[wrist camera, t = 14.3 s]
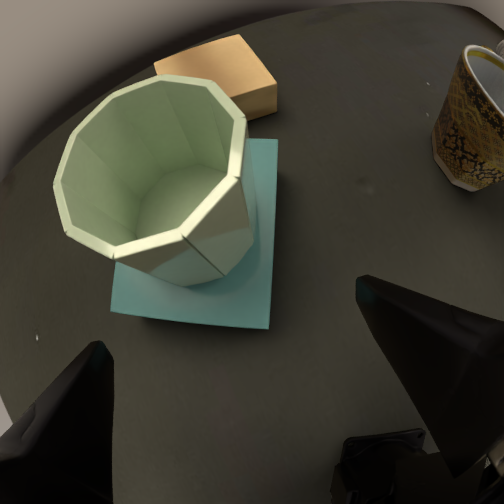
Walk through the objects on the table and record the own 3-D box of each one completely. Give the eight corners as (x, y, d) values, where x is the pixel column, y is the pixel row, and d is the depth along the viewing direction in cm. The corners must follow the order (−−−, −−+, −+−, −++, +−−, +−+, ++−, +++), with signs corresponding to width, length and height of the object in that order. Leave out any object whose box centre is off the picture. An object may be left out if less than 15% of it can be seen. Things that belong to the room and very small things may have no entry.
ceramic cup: (500, 222, 18) (573, 180, 9) (415, 189, 20) (484, 116, 10) (482, 116, 21) (525, 63, 11) (407, 82, 22) (440, 11, 12)
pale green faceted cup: (260, 164, 16) (252, 67, 9) (250, 292, 15) (231, 268, 7) (148, 164, 17) (91, 87, 9) (127, 281, 15) (36, 252, 8)
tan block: (242, 60, 24) (238, 33, 20) (277, 112, 22) (277, 83, 18) (164, 87, 23) (153, 62, 20) (184, 145, 21) (172, 119, 18)
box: (277, 170, 20) (278, 139, 17) (269, 326, 18) (268, 329, 14) (160, 169, 21) (141, 142, 17) (138, 313, 19) (109, 311, 15)
